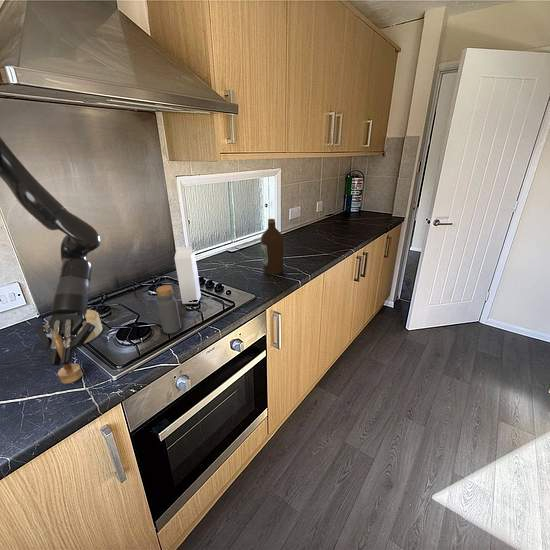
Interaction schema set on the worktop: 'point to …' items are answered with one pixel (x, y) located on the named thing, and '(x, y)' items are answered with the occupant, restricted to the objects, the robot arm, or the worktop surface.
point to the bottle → (168, 309)
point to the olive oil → (272, 249)
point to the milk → (187, 275)
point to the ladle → (68, 371)
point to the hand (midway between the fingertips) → (60, 364)
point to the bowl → (93, 319)
